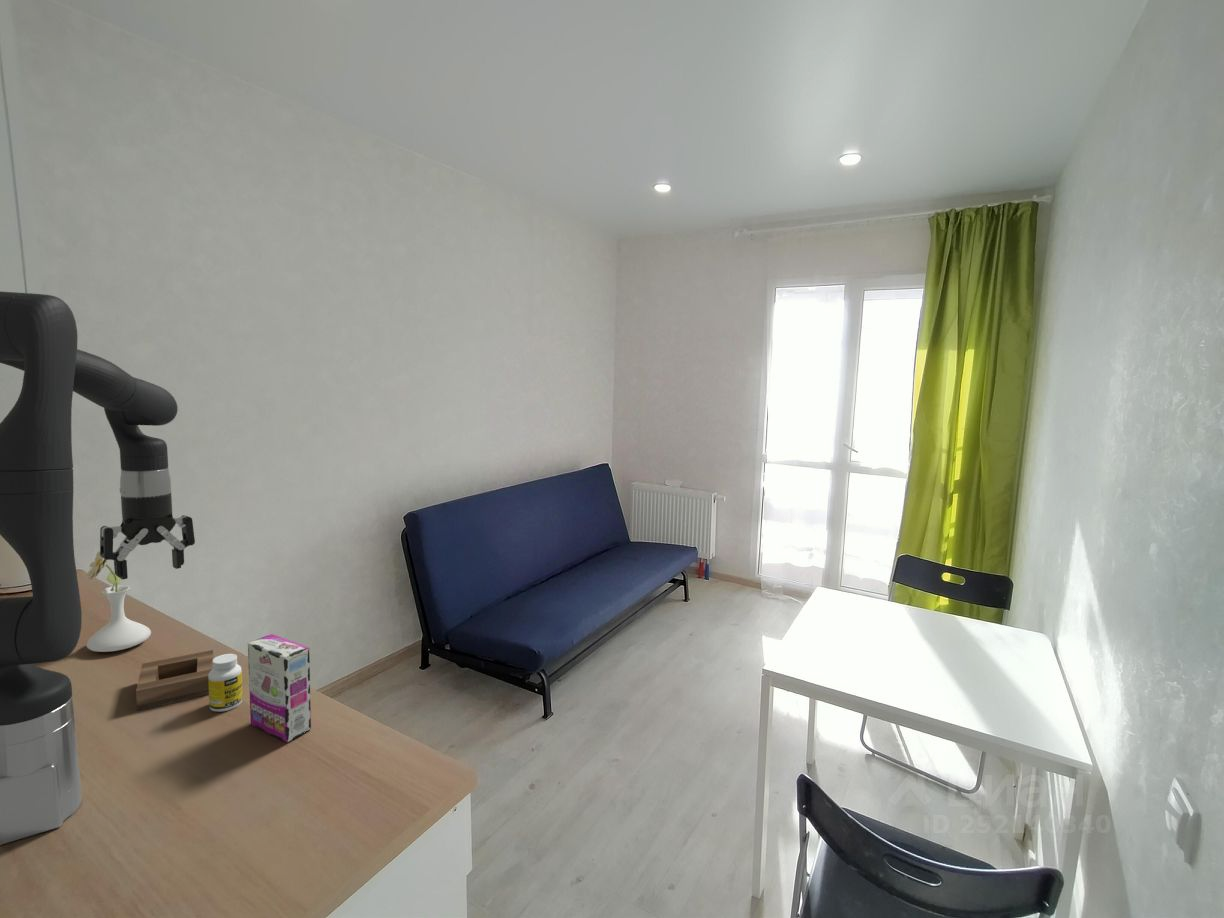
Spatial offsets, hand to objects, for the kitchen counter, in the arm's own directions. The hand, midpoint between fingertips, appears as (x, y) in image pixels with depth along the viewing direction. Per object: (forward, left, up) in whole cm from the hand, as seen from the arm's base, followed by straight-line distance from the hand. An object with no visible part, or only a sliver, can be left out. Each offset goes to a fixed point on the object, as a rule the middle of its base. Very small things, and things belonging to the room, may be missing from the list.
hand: (151, 572), depth 110 cm
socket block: (0, -3, -25) cm, 25 cm away
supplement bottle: (-12, -11, -26) cm, 30 cm away
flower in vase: (+27, +9, -26) cm, 38 cm away
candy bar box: (-25, -19, -26) cm, 41 cm away
